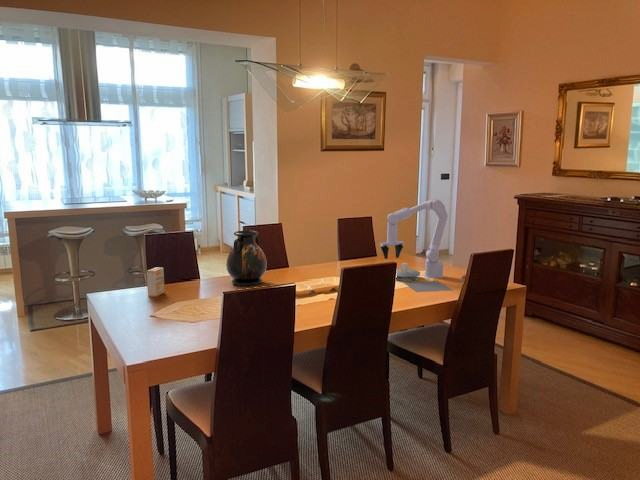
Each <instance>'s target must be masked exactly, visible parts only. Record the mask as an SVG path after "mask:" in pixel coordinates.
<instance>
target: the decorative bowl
mask: <svg viewBox="0 0 640 480" xmlns="http://www.w3.org/2000/svg"><path fill="white" fill-rule="evenodd" d="M417 280H418V278H417V276H416V277H398V276H397V280H396V281H397V282H416V281H417Z"/></svg>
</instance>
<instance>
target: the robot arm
mask: <svg viewBox="0 0 640 480" xmlns="http://www.w3.org/2000/svg"><path fill="white" fill-rule="evenodd" d="M431 209H432V211H433V212H435V215H437V220H436V224H435V228H434V231H433V235H432V238H431V242H430V245H429V247H428V249H427V250H426V252H425V256H426V260H425V265H424V269H425V271H424V274H422V276H424V277H425V278H426V279H442V278H444V264H443V262H442V261H440V255H439V254H440V246H441V241H442V237H443V235H444V231H445V227H446V224H447V220H448V216H449V215H448V213H447V210H446V207H445V204H444V203H443V202H442V200H440V199H438V198H433V199H429V200H427V201H424V202H421V203H419V204H417V205H415V206H413V207H410V208H409V207H402V208H401V209H400V210H397V211H393V213H392V212H391V213H389V214H388V215H387V218H386V220H387V226H386V230H387V231H386V241H384V242H380V243H379V246H380V249H381V251H382V254H383V257H384V258H383V259H385V260H388V254H389V249H390V248H389V247H392V246H393V247H394V250H395V258H397V259H399V258H400V254H401V253H402V250H403V248H404V245H405V243H404V242H405V241H402V240H400V241H399V240H398V223H399V222H401V221H404V220H407V219H409V218H411V216H412V214H415V213H418V212H421V211H424V210H429V211H431Z"/></svg>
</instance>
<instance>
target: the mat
mask: <svg viewBox="0 0 640 480" xmlns="http://www.w3.org/2000/svg"><path fill="white" fill-rule="evenodd" d="M402 283H403V284H404V285H406V286H407V287H409V288H410V289H411V290H413V291H414V292H415V293H424V292H425V293H426V292H443V291H444V292H445V291H454V289H453V288H451V287H449V286H448V285H445V283H442V282H440V281H439V280H428V281H427V280H426V281H402Z"/></svg>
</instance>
